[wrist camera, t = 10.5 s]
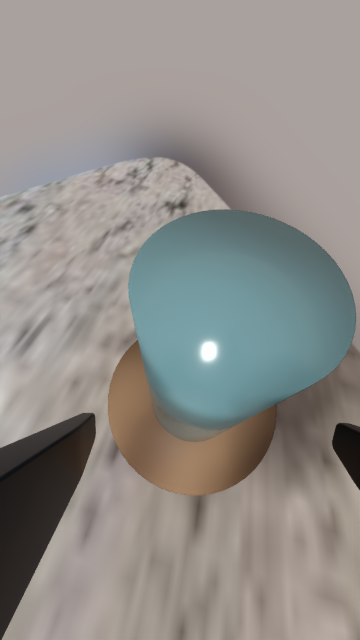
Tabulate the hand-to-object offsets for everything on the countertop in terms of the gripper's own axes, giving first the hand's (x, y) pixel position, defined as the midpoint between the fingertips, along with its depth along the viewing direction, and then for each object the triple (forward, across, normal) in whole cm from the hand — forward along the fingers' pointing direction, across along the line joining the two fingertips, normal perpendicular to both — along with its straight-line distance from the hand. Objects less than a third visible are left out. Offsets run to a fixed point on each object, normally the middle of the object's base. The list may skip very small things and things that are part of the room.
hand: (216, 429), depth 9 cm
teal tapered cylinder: (+8, 0, -4) cm, 9 cm away
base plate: (+10, 0, -5) cm, 11 cm away
